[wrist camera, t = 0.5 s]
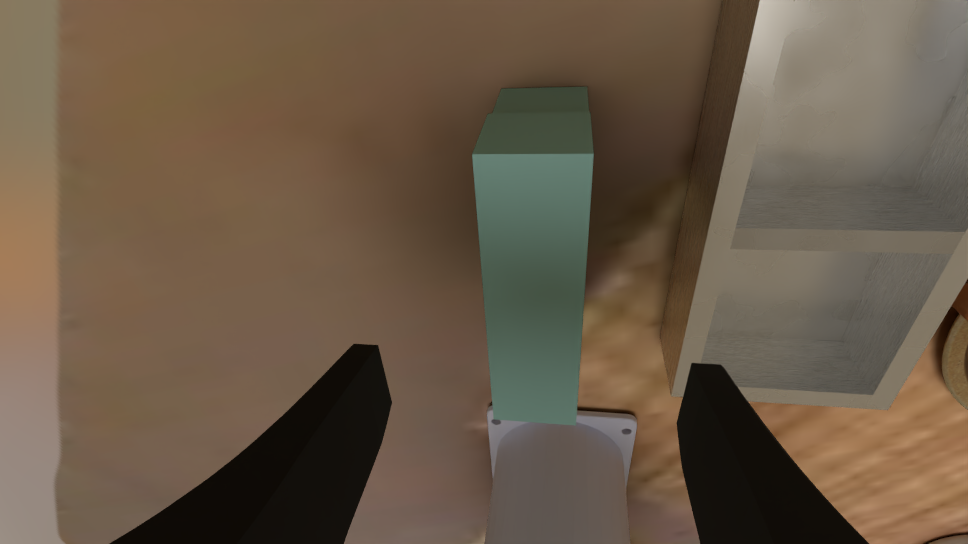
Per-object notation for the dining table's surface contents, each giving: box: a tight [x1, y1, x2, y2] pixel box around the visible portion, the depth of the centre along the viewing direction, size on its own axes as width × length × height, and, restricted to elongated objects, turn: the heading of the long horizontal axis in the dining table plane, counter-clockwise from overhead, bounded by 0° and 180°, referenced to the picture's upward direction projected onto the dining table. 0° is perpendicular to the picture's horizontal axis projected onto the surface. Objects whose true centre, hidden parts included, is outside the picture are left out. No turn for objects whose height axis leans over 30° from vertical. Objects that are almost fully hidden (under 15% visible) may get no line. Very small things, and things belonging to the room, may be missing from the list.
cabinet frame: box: [660, 0, 968, 410], centre depth 18 cm, size 15×8×4 cm, turn 4°
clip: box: [472, 87, 594, 426], centre depth 18 cm, size 10×3×6 cm, turn 4°
